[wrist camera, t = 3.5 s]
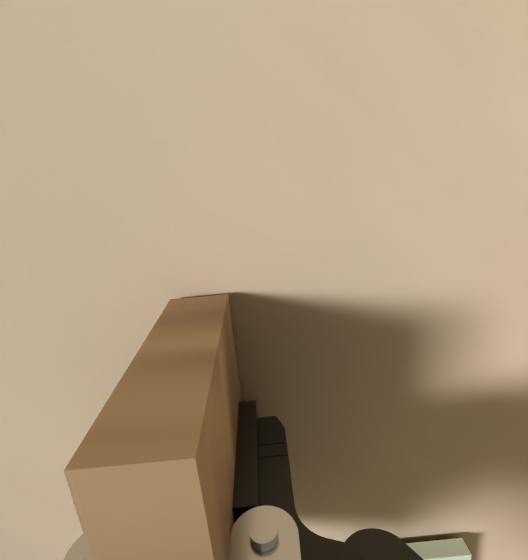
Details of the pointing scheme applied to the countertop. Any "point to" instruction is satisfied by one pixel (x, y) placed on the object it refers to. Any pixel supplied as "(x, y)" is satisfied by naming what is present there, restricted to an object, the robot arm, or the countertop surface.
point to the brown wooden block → (165, 444)
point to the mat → (442, 549)
